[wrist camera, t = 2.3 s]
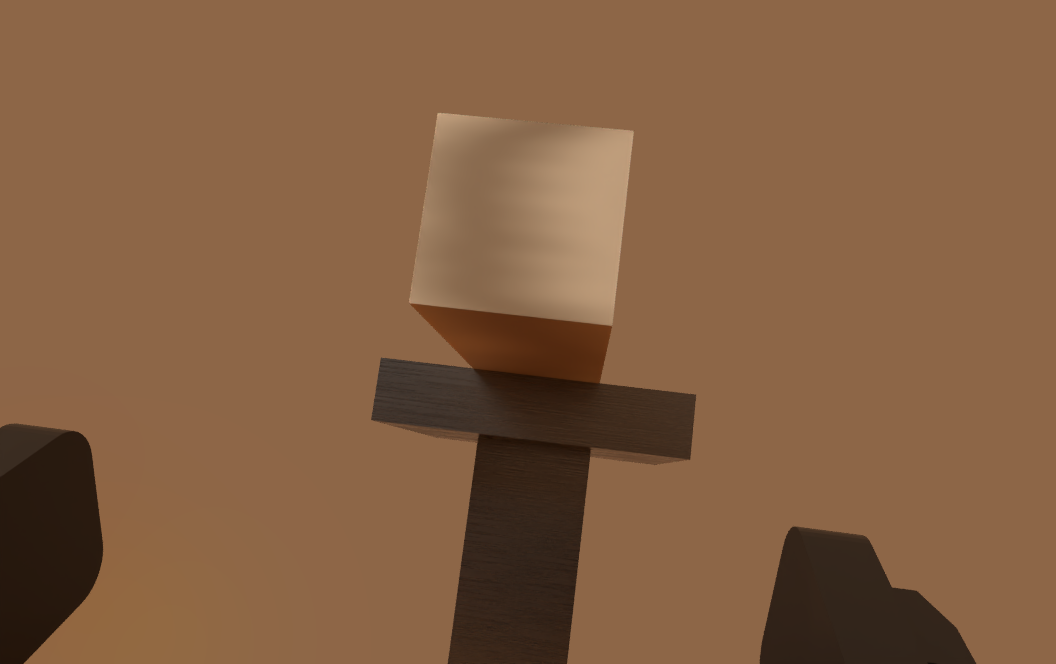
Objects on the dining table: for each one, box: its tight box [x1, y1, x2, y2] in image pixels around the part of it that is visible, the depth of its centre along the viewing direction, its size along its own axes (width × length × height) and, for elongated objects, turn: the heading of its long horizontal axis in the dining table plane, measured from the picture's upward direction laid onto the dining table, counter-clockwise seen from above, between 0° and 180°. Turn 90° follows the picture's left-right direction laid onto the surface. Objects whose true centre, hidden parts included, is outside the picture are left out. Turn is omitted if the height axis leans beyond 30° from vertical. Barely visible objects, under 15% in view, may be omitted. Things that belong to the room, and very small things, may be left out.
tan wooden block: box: [409, 113, 634, 383], centre depth 29 cm, size 4×26×8 cm, turn 176°
